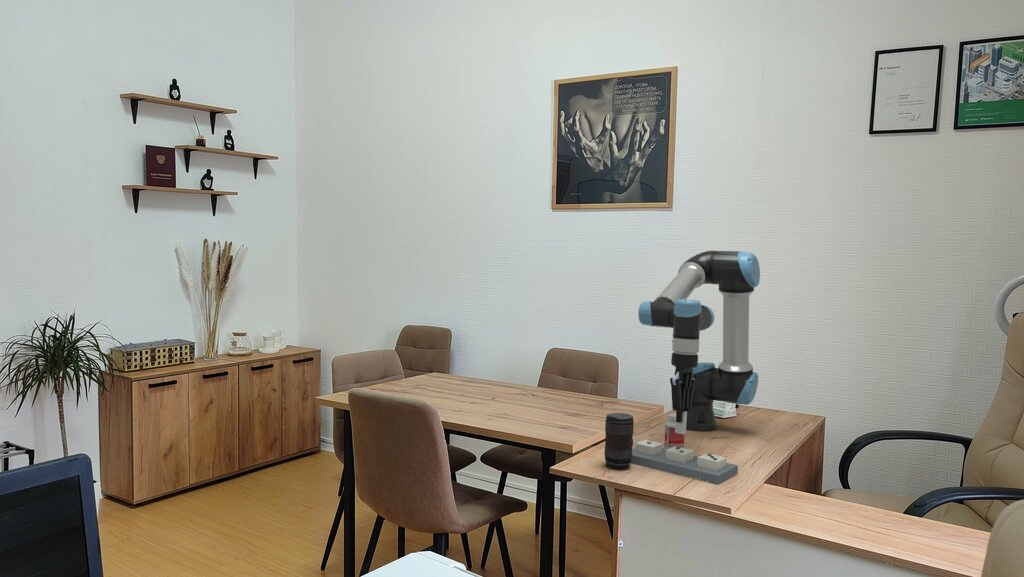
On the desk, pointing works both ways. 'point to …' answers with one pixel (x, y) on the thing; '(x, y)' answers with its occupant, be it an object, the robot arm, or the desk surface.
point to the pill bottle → (672, 434)
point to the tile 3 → (711, 462)
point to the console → (684, 467)
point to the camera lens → (618, 440)
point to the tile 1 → (648, 447)
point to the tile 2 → (679, 454)
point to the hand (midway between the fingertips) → (680, 433)
